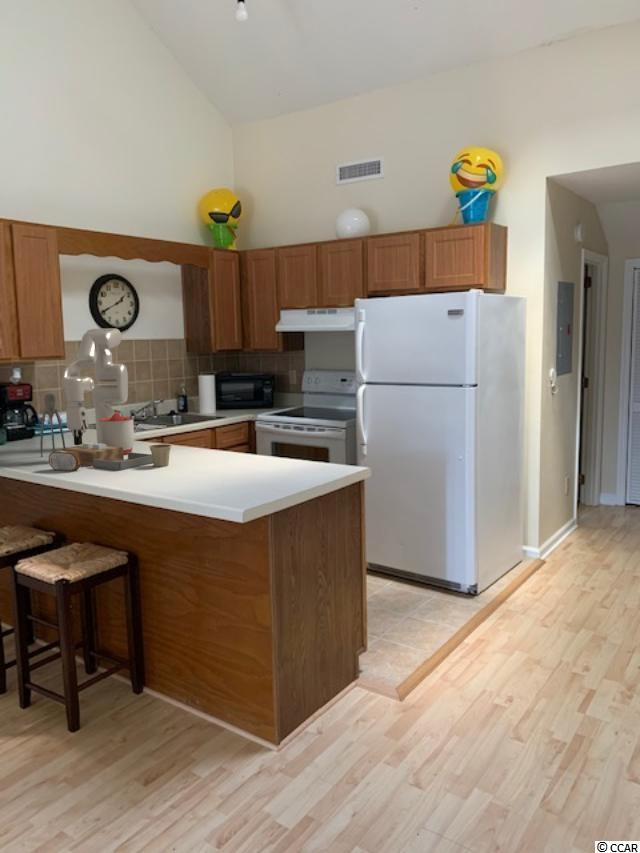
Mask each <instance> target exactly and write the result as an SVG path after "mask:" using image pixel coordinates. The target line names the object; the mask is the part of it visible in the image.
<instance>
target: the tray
mask: <svg viewBox="0 0 640 853" xmlns="http://www.w3.org/2000/svg"><path fill="white" fill-rule="evenodd" d="M151 464H153V459H152V453H151V454H149V453H143V452H128V454H127V458H126V459H125V458H124V460H120V461H108V460H100V459H93V466H92V467H93V468H97V469H104V470H106V469H107V470H113V471H124V470H129V469H135V468H138V467H141V466H142V467H144V466H147V465H151Z"/></svg>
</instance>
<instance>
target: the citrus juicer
mask: <svg viewBox="0 0 640 853" xmlns="http://www.w3.org/2000/svg"><path fill="white" fill-rule="evenodd" d="M100 424H101V438H102V444H106V445H108V446H118V447H123V455H128V452H132V451H133V449H134V444H135V443H134V442H135V429H138V425H136V424H135V418H131V417H130V416H122V415H121V414H120V413H119V412H117V411H116V412H115V414H114V415H113V416H112V417H111V418H103V419H100Z"/></svg>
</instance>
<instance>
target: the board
mask: <svg viewBox="0 0 640 853" xmlns="http://www.w3.org/2000/svg"><path fill="white" fill-rule="evenodd" d="M61 450H64V451H75V452H76V453H78V454H79V456H80V458H81V466H82V465H83V466H92V467H93V459H100V460H108V461H120V460H125V458H124V454H123V447H118V446H108V445H106V449H100V450H97V449H93V448H89V449H88V448H83V444H82V445H75V446H72V447H71V446H70V447H65V448H61Z"/></svg>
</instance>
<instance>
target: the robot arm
mask: <svg viewBox="0 0 640 853" xmlns="http://www.w3.org/2000/svg"><path fill="white" fill-rule="evenodd" d="M122 337H123V336H122V333H121V331H120V330H119V329H118V328H114V327H113V328H91V329H88V330H87V331H86V332H85V333H83V336H82V337H81V341H80V345H79V351H78V355H77V357H75V358H74V359H73V360H72V361H71V362H70V363H69V364H68V365H67V366H66V367H65V369H64V371H63V373H62V377H61V389H62V391H63V392H64V393H65V399H66V414H65V415H66V427H67V429H68V431H69V432H70V433H71V434H72V436H73V443H74V444H73V445H74V446H81V445H83V435H84V434H85V433H86V432H87V430H88V429H89V420H88V419H89V418H88V413H87V409H86V407H85V395H84V394H85V393H90V392H91V396H92V402H93V406H94V414H95V416H94V417H95V432H96V444H100V443H101V444H102V438H101V424H100V419H103V418H111V417H112V416H113V415H114V414H115V413H116V412H115V410H114V408H113V407H112V406H111V405H116V404H117V405H120V404H121V405H123V404H125V403H127V401H128V398H129V397H128V396H129V388H128V387H129V386H128V385H129V384H128V383H129V380H128V379H129V378H128V377H129V374H128V369H127V366H126V365H125V364H124V363H113V354H112V351H111V349H113V348H116V347H117V346H119V345H120V344H121V341H122ZM92 366H94V375H95V377H94V378H95V380H96V381H97V382H98V383H116V384H111V385H110V384H101V385H97V386H96V385H95V381H94V379H93V378H92V377H90V376H87V375H86V376H77V375H76V374H77V373H79V372H80V371H84V370H85V369H88V368H90V367H92ZM75 375H76V376H75Z"/></svg>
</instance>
